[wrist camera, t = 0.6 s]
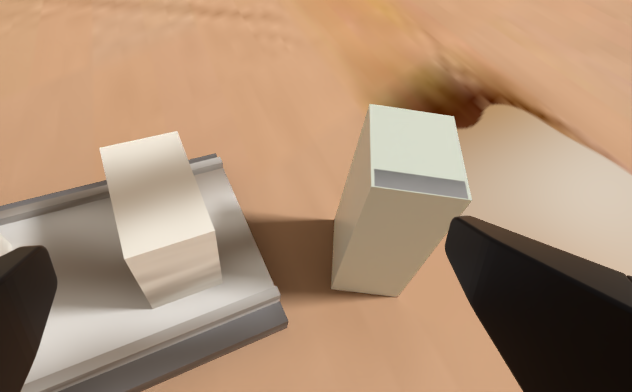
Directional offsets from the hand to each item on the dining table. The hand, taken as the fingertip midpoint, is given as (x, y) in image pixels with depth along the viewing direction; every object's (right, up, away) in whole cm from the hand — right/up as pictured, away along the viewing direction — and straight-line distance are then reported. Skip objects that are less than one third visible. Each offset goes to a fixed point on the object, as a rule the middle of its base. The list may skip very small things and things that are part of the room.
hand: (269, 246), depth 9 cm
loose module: (+4, -3, +18) cm, 19 cm away
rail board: (-13, -4, +15) cm, 20 cm away
